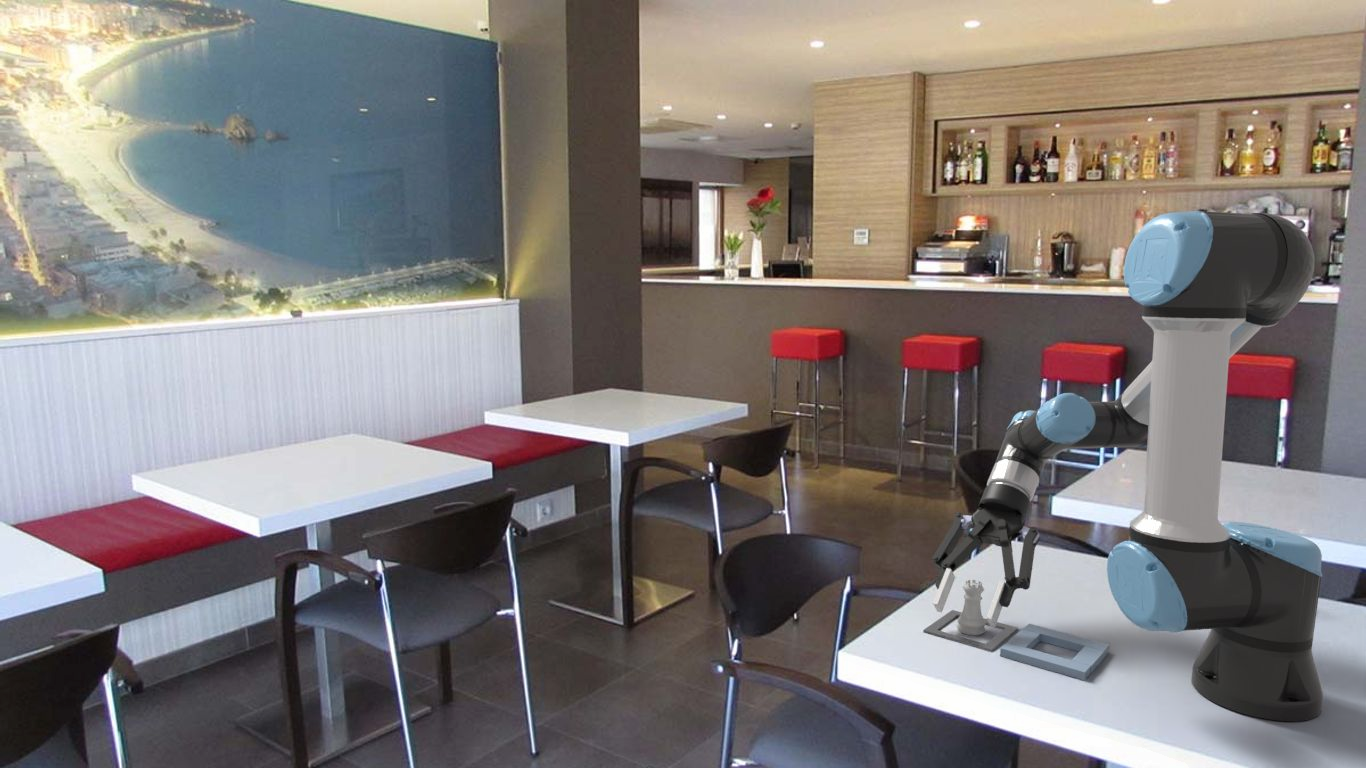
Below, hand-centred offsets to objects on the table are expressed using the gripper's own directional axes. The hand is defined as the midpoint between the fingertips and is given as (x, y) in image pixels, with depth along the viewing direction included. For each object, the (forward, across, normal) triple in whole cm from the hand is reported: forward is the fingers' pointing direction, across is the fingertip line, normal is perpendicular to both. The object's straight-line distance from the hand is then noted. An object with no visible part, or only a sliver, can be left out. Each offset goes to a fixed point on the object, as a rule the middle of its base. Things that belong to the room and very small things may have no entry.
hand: (963, 614), depth 143 cm
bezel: (0, 0, -5) cm, 5 cm away
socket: (0, -13, -5) cm, 14 cm away
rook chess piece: (0, 0, -5) cm, 5 cm away
